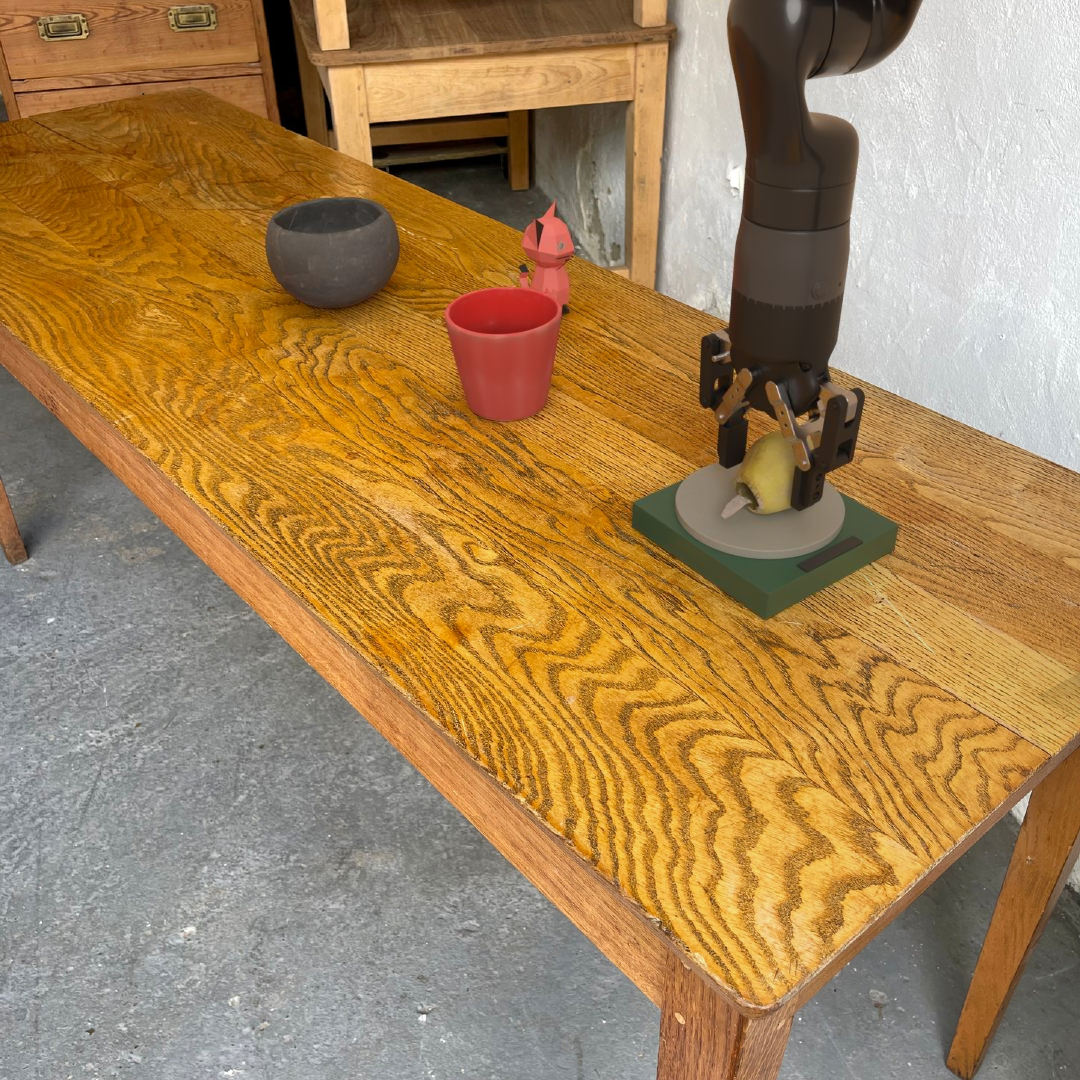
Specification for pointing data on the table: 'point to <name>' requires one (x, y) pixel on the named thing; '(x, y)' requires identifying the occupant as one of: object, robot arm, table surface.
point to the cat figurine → (548, 256)
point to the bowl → (332, 250)
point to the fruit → (765, 476)
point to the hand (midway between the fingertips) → (766, 484)
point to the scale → (762, 539)
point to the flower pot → (504, 349)
